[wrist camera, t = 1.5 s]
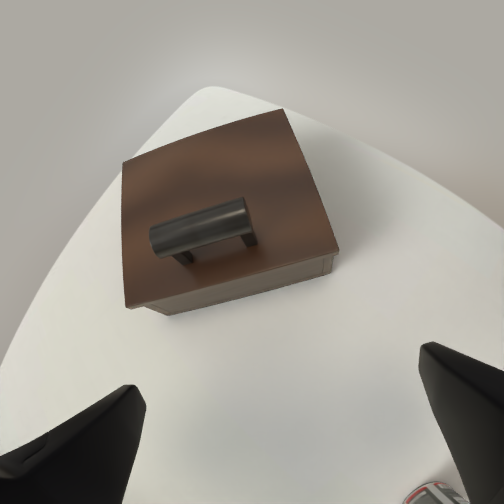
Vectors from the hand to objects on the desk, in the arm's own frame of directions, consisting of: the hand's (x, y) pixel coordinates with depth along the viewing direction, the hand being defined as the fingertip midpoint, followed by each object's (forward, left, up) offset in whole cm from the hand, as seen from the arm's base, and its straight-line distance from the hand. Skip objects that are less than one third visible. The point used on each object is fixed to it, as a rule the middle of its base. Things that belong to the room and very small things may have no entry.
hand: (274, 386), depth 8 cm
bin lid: (+9, +8, -8) cm, 14 cm away
